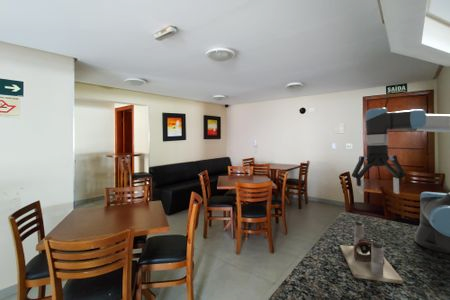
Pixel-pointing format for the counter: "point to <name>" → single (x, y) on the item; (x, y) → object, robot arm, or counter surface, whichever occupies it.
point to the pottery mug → (363, 251)
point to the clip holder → (376, 266)
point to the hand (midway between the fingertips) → (378, 193)
